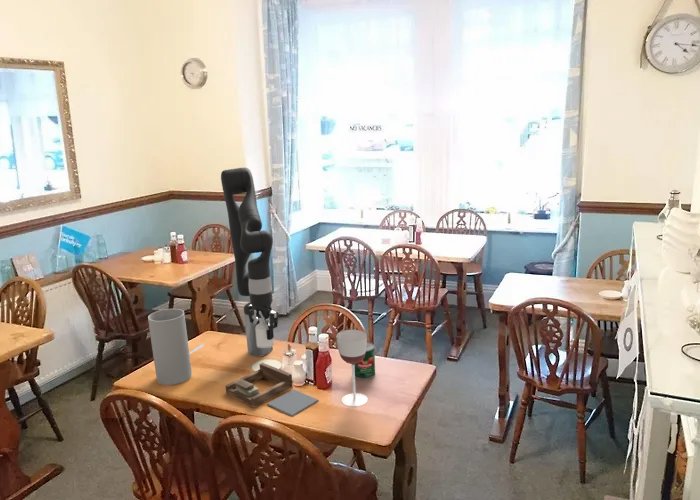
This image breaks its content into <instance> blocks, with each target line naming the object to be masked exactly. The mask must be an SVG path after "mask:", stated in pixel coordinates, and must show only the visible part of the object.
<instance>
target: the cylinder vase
mask: <svg viewBox="0 0 700 500" xmlns="http://www.w3.org/2000/svg"><path fill="white" fill-rule="evenodd" d="M185 316H186V314H185V311H184V310H182V309H179V308H165V309H161V310H156V311H154V312H152V313H150V314H149V315H148V316H147V321H148V322H147V323H148V328H149V334H150V342H151V348H152V357H153V365H154V370H155V377H156V381H157V383H159V384H160V385H162V386H175V385H179V384H182V383H185V382H186V381H188V380H190V378H191V377H192V374H193V372H192V363H191V357H190V355H191V354H190V355H189V353H190V349H189V340H188V334H187V333H188V331H187V324H186V317H185Z"/></svg>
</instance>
